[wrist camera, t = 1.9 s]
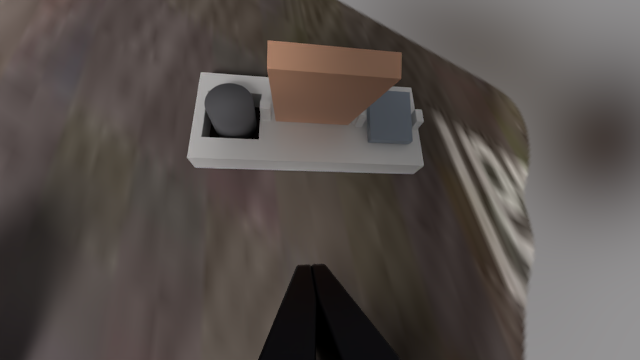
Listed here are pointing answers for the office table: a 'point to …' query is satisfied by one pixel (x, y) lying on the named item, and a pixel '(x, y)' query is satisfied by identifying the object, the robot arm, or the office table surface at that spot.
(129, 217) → the office table surface
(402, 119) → the rocker switch
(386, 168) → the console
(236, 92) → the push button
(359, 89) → the paddle lever
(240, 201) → the office table surface
